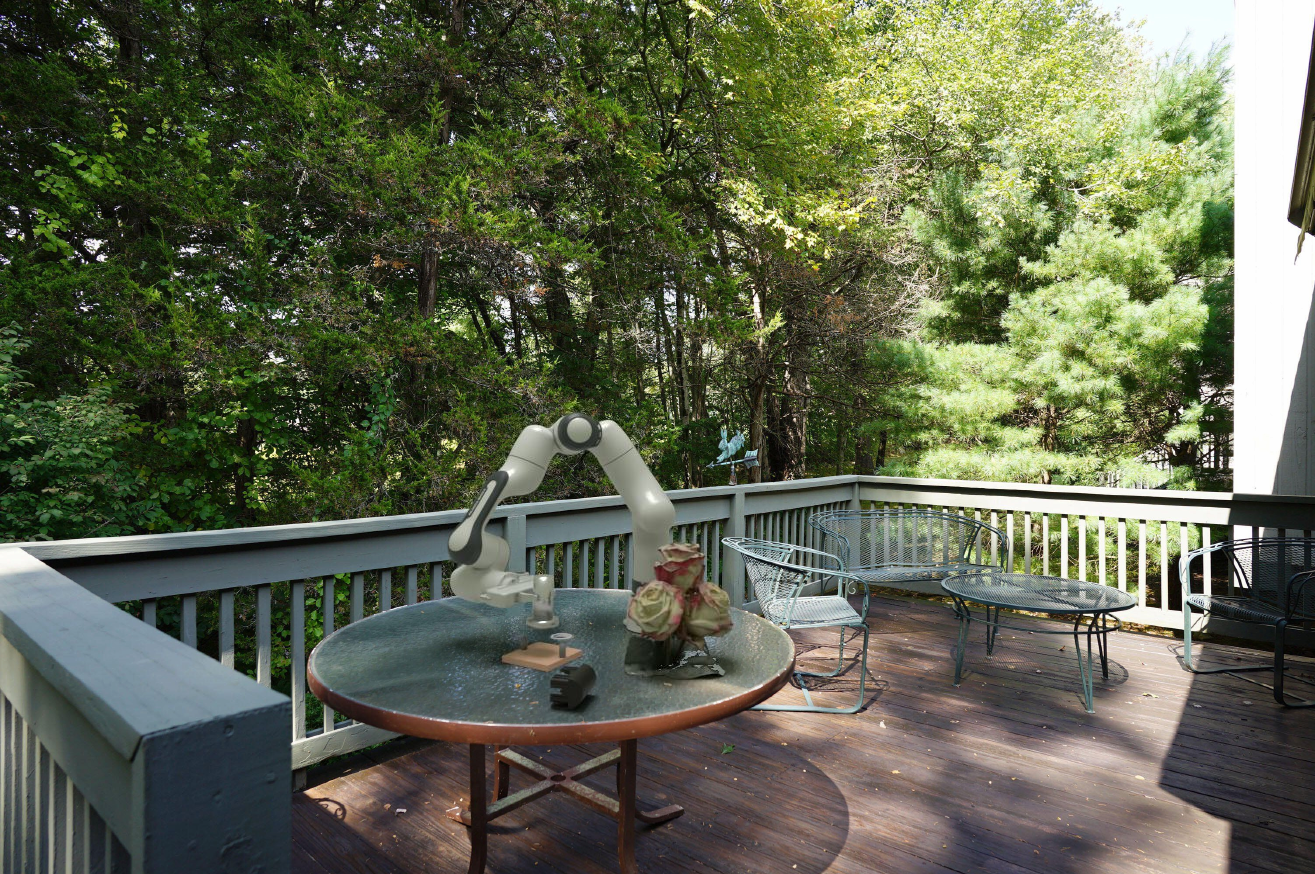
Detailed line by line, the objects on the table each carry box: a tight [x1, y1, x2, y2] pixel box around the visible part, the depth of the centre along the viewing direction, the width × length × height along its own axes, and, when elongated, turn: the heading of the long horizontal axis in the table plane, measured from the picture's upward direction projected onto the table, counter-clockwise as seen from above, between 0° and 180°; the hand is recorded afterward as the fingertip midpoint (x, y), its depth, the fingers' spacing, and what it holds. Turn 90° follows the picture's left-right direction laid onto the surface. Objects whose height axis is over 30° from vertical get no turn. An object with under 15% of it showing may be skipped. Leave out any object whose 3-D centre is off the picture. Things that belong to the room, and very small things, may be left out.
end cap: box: [549, 663, 597, 711], centre depth 150 cm, size 10×7×7 cm
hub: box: [525, 573, 560, 630], centre depth 177 cm, size 8×8×12 cm
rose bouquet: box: [624, 541, 734, 680], centre depth 175 cm, size 26×29×30 cm
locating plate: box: [501, 635, 583, 673], centre depth 177 cm, size 14×14×4 cm
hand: (546, 596), depth 177 cm, fingers closed on hub, 5 cm apart
